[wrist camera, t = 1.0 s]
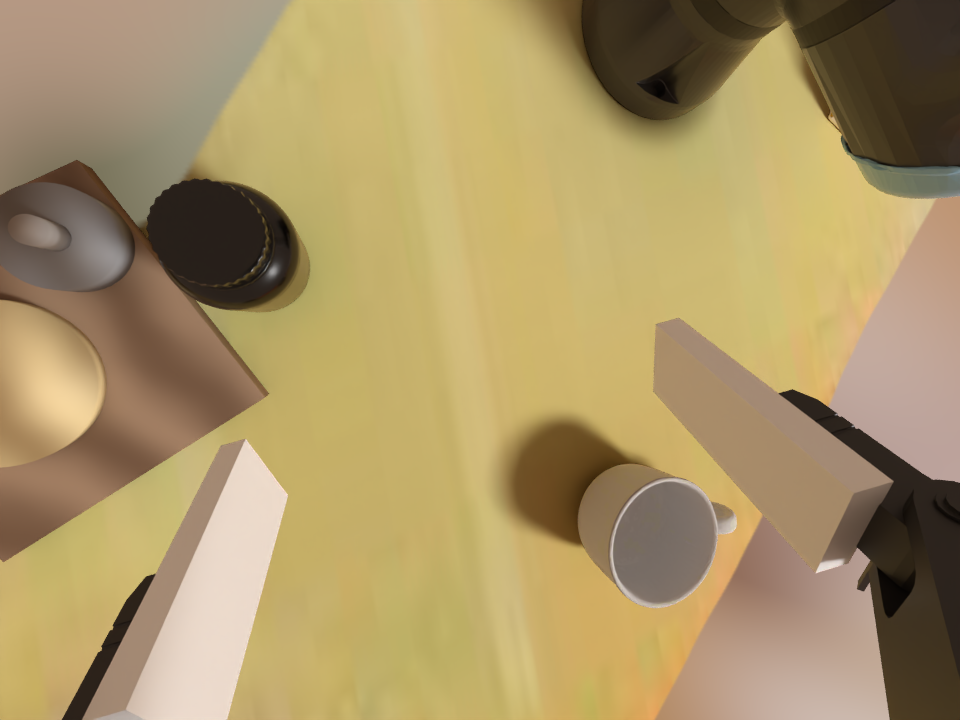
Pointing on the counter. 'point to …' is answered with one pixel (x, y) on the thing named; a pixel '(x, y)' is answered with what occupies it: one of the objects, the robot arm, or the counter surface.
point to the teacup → (651, 532)
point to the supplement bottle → (228, 246)
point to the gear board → (95, 356)
